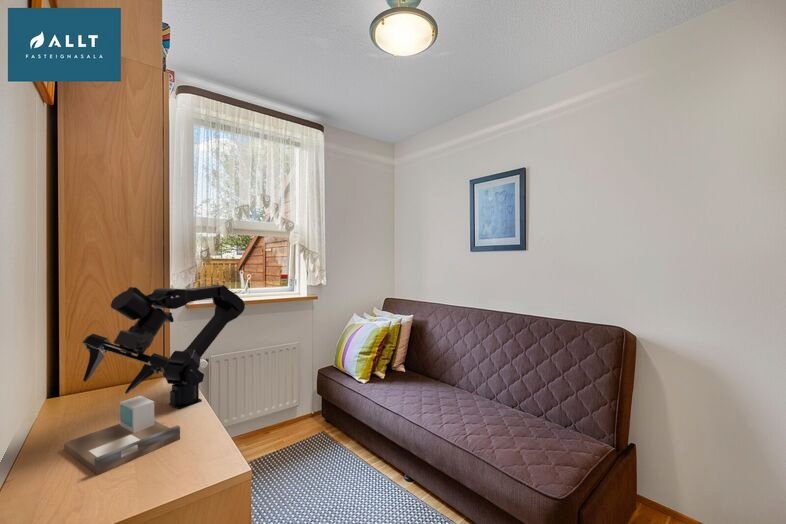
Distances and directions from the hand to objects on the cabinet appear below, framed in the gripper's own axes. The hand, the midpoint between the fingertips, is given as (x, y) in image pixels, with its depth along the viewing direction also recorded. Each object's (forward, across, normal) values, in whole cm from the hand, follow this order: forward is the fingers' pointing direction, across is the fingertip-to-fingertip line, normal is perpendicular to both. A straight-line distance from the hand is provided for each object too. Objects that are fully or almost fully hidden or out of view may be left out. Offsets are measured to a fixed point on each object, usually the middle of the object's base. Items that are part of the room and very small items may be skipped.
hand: (105, 387), depth 82 cm
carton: (+5, +10, +7) cm, 13 cm away
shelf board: (+10, +10, +2) cm, 14 cm away
